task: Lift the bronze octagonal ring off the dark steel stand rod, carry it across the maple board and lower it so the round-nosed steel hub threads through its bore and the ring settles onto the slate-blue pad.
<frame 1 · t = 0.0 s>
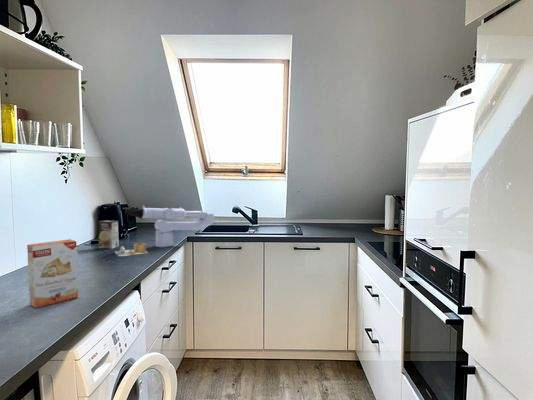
hand: (126, 212, 206), 22 cm above the counter, tool horizontal, fingers open, 7 cm apart
hub pad: (122, 253, 199), on the maple board, point 1 cm above the counter
maple board: (131, 254, 201), on the counter
bronze ring: (139, 247, 203), on the maple board, point 3 cm above the counter
steel hub: (122, 249, 198), on the maple board, point 3 cm above the counter
stand rod: (139, 248, 203), on the maple board, point 2 cm above the counter
cracker box: (55, 302, 130), on the counter
coffee box: (109, 249, 215), on the counter
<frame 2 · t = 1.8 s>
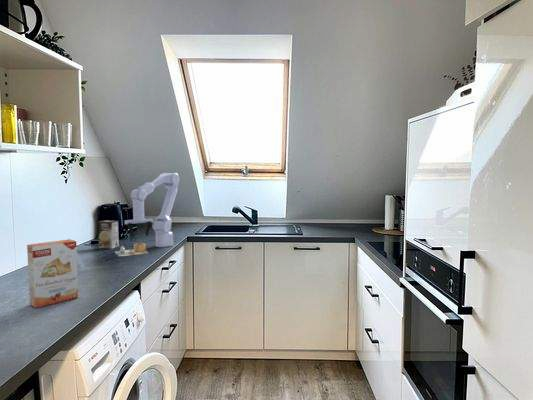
hand: (139, 236, 203), 9 cm above the counter, tool pointing down, fingers open, 7 cm apart
nothing on the counter moved.
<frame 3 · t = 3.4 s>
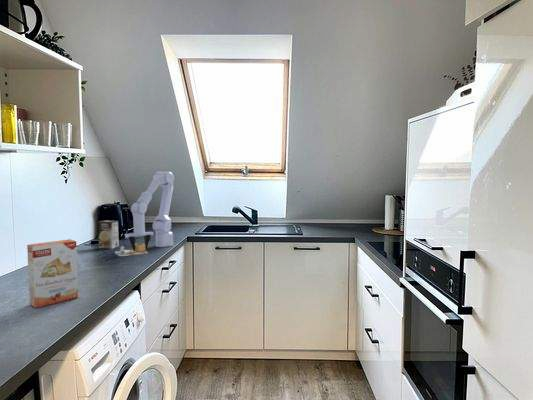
hand: (140, 249, 203), 2 cm above the counter, tool pointing down, fingers closed on bronze ring, 6 cm apart
bronze ring: (139, 247, 203), on the maple board, point 3 cm above the counter, touching gripper
everything else where it was.
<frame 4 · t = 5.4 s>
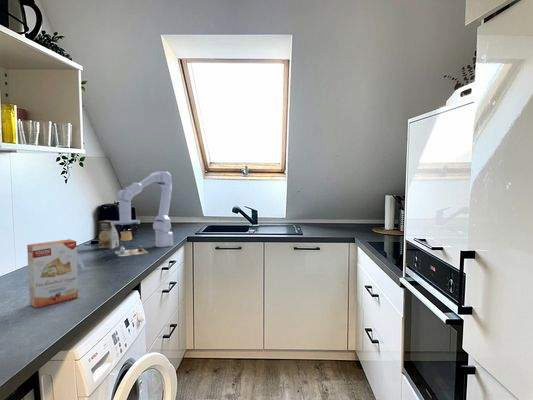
hand: (126, 238, 199), 9 cm above the counter, tool pointing down, fingers closed on bronze ring, 6 cm apart
bronze ring: (126, 235, 199), point 10 cm above the counter, touching gripper
everything else where it was.
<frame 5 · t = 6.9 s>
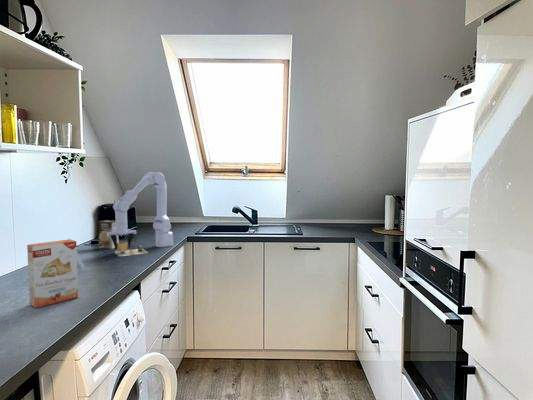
hand: (122, 248, 198), 4 cm above the counter, tool pointing down, fingers closed on bronze ring, 6 cm apart
bronze ring: (122, 246, 198), point 5 cm above the counter, touching gripper
everything else where it was.
when the fingers open (3 cm above the counter, at t = 7.9 s): bronze ring drops 1 cm, resting on hub pad.
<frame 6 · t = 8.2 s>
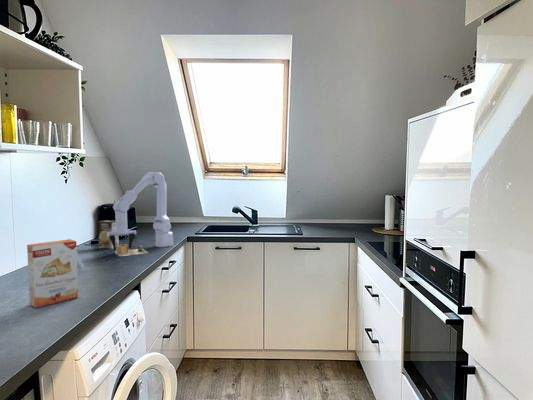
hand: (122, 248, 198), 3 cm above the counter, tool pointing down, fingers open, 7 cm apart
bronze ring: (122, 249, 198), point 3 cm above the counter, touching hub pad
everything else where it was.
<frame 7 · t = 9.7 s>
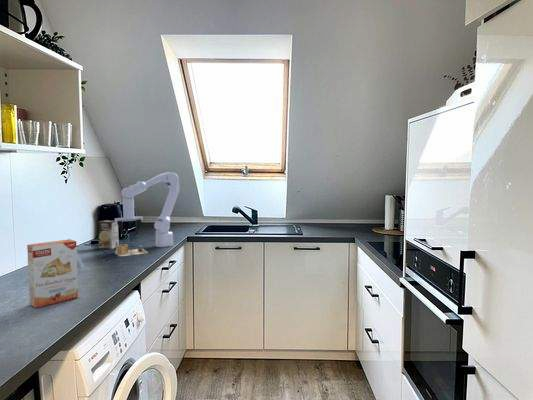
hand: (129, 234, 206), 10 cm above the counter, tool pointing down, fingers open, 7 cm apart
nothing on the counter moved.
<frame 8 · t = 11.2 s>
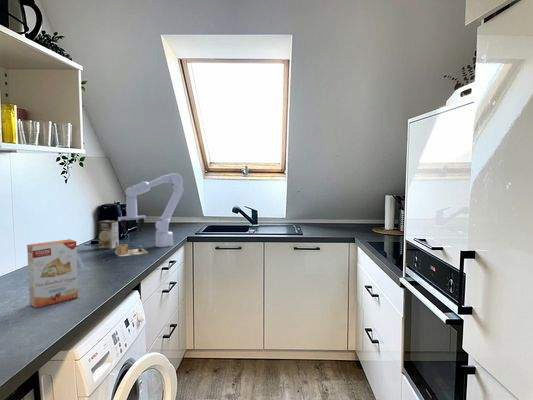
hand: (132, 232, 210), 10 cm above the counter, tool pointing down, fingers open, 7 cm apart
nothing on the counter moved.
at the end: bronze ring 0.0 cm from the target spot on the maple board, point 3.2 cm above the maple board's base; bronze ring tilted 0°; the gripper is holding nothing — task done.
